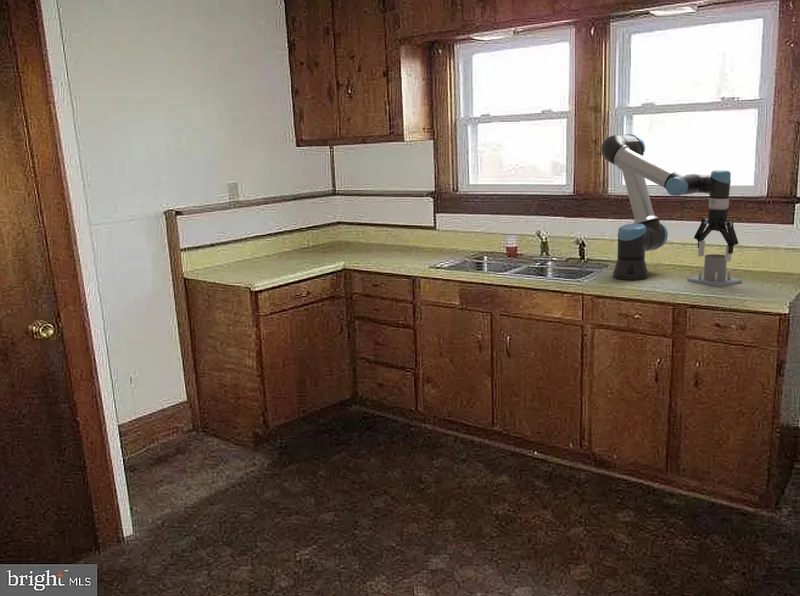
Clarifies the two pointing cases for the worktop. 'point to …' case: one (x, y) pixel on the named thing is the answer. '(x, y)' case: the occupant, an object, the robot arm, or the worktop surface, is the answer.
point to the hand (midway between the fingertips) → (714, 258)
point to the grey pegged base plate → (715, 280)
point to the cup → (714, 267)
